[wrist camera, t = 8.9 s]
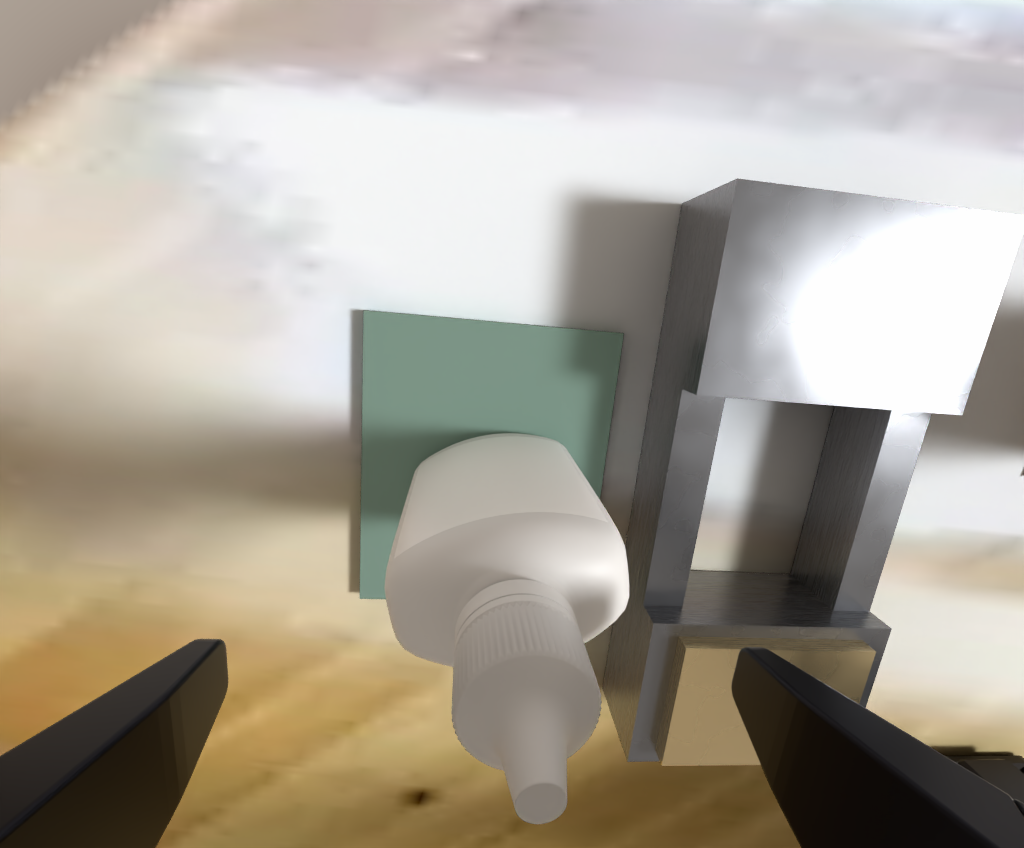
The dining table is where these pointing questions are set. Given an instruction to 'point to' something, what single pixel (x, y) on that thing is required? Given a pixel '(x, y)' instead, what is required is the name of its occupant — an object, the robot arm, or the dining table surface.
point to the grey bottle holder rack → (847, 451)
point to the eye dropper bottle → (510, 602)
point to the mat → (471, 404)
